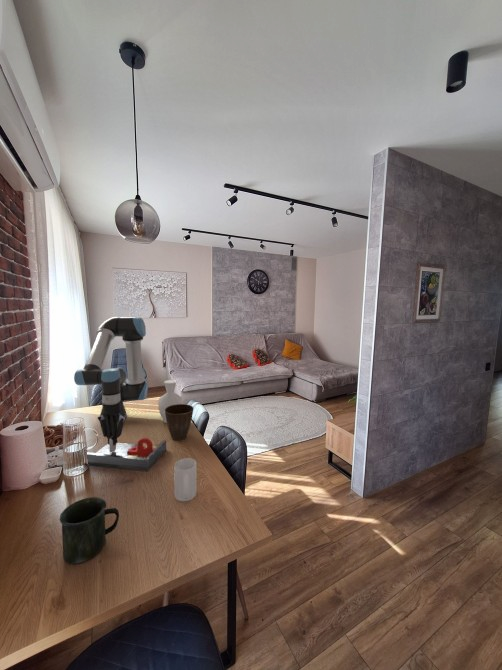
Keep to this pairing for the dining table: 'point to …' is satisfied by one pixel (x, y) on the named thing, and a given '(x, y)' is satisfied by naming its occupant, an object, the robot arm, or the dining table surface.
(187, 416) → the plant pot
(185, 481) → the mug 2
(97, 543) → the mug
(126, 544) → the dining table surface
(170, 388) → the vase
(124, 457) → the tray
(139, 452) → the bracket
